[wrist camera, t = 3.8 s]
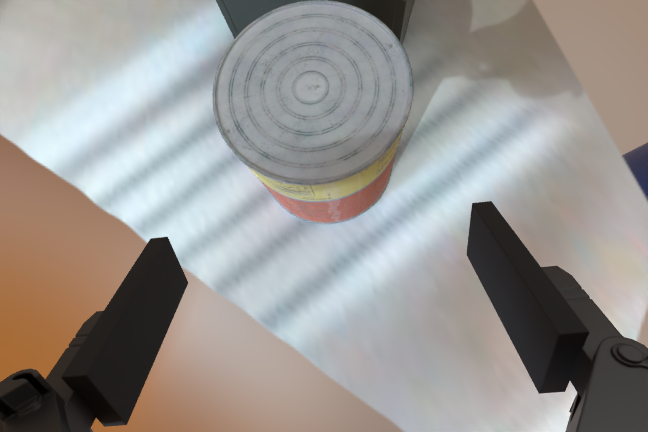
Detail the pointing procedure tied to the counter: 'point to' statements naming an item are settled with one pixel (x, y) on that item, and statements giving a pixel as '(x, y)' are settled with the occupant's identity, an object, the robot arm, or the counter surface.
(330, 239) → the counter surface
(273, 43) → the canned food
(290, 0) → the open dark gray bin
